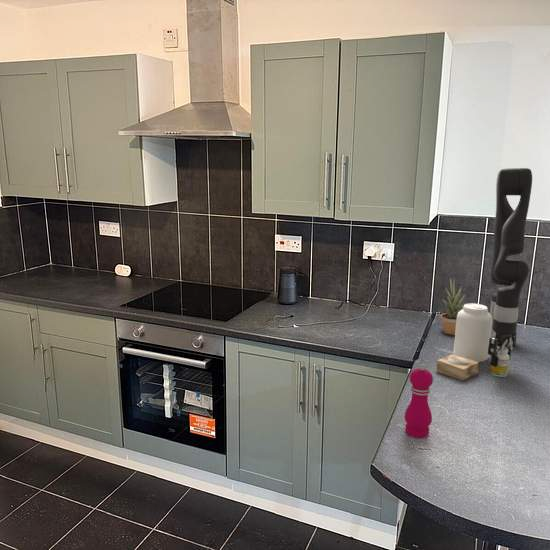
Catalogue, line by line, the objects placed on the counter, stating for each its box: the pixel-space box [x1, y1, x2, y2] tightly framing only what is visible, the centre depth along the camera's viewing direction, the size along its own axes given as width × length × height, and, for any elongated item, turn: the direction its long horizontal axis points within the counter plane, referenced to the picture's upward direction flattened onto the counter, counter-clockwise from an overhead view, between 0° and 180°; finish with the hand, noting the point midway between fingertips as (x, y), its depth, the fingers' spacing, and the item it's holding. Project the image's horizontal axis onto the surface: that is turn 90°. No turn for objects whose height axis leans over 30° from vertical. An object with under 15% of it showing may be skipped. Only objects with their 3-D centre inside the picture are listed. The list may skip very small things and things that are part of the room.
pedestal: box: [436, 353, 480, 381], centre depth 181 cm, size 10×10×4 cm
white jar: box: [452, 302, 492, 363], centre depth 194 cm, size 12×12×20 cm
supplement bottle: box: [490, 347, 510, 378], centre depth 179 cm, size 5×5×10 cm
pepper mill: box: [404, 363, 434, 439], centre depth 140 cm, size 7×7×20 cm
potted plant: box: [440, 277, 466, 336], centre depth 220 cm, size 10×10×25 cm
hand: (500, 362), depth 180 cm, fingers open, 8 cm apart
